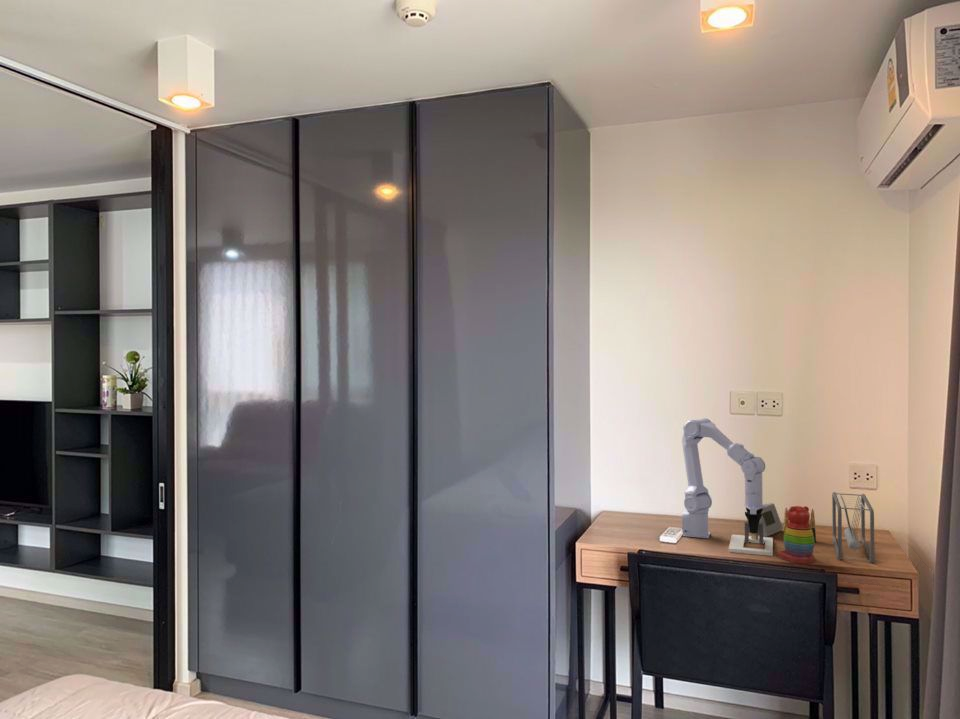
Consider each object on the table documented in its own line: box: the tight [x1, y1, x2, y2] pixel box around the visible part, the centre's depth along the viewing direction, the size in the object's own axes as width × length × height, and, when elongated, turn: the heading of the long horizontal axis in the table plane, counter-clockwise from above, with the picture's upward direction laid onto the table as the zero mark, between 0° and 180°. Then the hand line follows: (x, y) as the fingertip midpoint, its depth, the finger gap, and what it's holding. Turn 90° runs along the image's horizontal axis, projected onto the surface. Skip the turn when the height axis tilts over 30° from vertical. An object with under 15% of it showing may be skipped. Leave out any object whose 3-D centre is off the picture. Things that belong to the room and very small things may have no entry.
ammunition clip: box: [782, 507, 817, 543], centre depth 253 cm, size 11×2×12 cm, turn 74°
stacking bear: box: [777, 505, 816, 564], centre depth 231 cm, size 11×10×18 cm
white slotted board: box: [728, 533, 774, 557], centre depth 247 cm, size 14×20×6 cm
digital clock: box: [758, 502, 784, 538], centre depth 264 cm, size 16×9×11 cm, turn 122°
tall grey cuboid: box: [744, 520, 764, 545], centre depth 244 cm, size 6×2×7 cm, turn 67°
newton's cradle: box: [831, 491, 875, 564], centre depth 240 cm, size 30×10×18 cm, turn 156°
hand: (754, 530), depth 244 cm, fingers open, 6 cm apart
